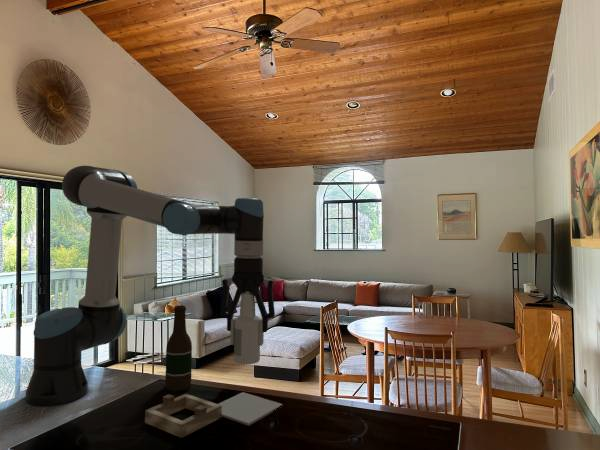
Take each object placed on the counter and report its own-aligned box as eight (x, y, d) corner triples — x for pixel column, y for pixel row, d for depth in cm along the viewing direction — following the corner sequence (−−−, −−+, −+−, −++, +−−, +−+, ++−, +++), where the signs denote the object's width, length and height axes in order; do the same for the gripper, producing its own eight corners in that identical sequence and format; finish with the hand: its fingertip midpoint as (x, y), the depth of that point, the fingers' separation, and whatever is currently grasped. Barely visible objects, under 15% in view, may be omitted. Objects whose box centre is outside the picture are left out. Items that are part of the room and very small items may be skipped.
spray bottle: (246, 355, 120) (247, 289, 120) (265, 360, 116) (266, 292, 116) (228, 361, 115) (229, 292, 115) (247, 366, 111) (248, 295, 111)
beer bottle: (184, 393, 126) (186, 309, 125) (159, 390, 127) (161, 307, 127) (196, 383, 133) (197, 304, 133) (172, 381, 135) (174, 303, 135)
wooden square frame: (144, 422, 107) (144, 404, 107) (185, 404, 118) (185, 387, 118) (182, 438, 99) (182, 418, 99) (222, 417, 110) (222, 399, 110)
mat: (207, 411, 114) (207, 408, 114) (242, 394, 126) (242, 392, 126) (248, 425, 106) (248, 423, 106) (282, 406, 118) (282, 404, 118)
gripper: (207, 257, 112) (206, 346, 113) (284, 258, 111) (283, 349, 111) (215, 255, 120) (213, 338, 120) (287, 256, 119) (285, 341, 119)
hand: (247, 343), depth 116 cm, fingers closed on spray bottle, 7 cm apart
